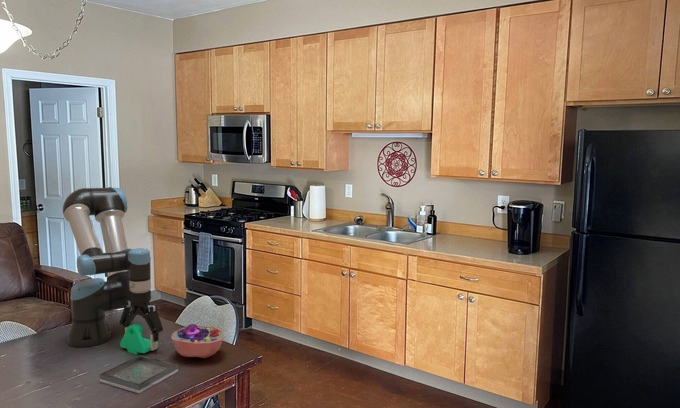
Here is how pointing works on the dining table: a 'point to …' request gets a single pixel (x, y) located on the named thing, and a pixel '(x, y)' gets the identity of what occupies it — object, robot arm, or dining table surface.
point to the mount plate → (138, 373)
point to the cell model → (197, 341)
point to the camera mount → (135, 340)
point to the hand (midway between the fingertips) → (141, 346)
